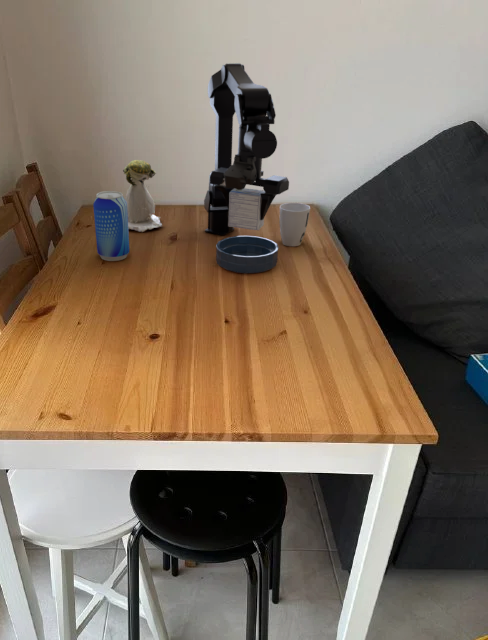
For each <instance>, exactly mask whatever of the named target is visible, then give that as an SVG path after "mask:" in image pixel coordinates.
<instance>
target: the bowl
mask: <svg viewBox="0 0 488 640" xmlns="http://www.w3.org/2000/svg"><path fill="white" fill-rule="evenodd" d="M279 249H280V246H279V244H278V243H277V242H275V241H273V240H272V239H269V238H266V237H262V236H255V235H234V236H228V237H225V238H222V239H221V240H218V241H217V243H216V244H215V261H216V264H217V265H218V266H219V267H221V268H223V269H224V270H226V271H229V272H232V273H237V274H258V273H265V272H266V271H269V270H272V269H274V268H275V267H276V266H277V264H278V261H279V259H278V258H279Z"/></svg>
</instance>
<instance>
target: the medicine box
mask: <svg viewBox="0 0 488 640" xmlns="http://www.w3.org/2000/svg"><path fill="white" fill-rule="evenodd" d="M263 192H265V191H264V189H255V188H246V187H245V188H244V189H242V190H237V189H235V188H234V189H233V190H232V191H230V194H229V223H228V226H229V227H233V228H237V229H243V230H250V231H260V230H261V229H262V227H264V225H265V218H264V219H263V220H260V212H261V203H262V198H261V195H260V194H261V193H263Z"/></svg>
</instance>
